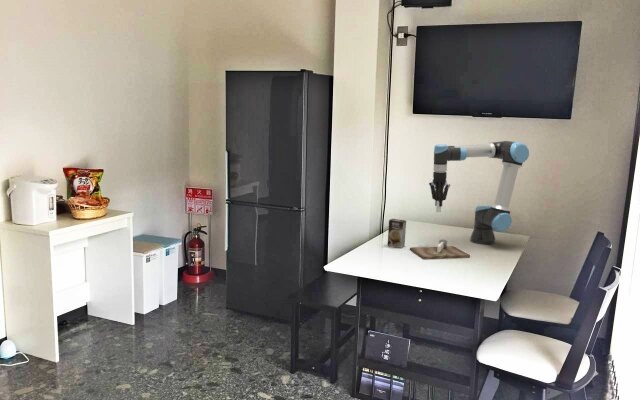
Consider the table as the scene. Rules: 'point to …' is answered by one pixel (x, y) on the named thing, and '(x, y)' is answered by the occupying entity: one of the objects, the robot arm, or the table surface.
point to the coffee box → (396, 233)
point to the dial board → (444, 254)
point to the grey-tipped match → (442, 245)
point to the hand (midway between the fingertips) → (438, 211)
